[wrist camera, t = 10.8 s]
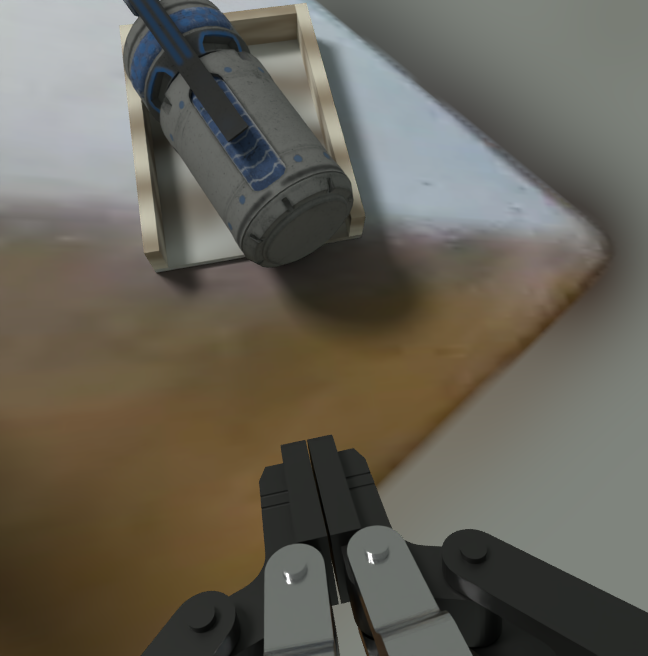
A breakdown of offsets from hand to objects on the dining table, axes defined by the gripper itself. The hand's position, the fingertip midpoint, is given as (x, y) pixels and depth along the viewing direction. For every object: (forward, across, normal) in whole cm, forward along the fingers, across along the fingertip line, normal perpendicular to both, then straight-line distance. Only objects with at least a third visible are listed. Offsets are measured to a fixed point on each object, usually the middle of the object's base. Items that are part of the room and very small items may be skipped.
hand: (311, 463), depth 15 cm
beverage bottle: (+27, +4, -1) cm, 27 cm away
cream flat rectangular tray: (+42, 0, +5) cm, 42 cm away
